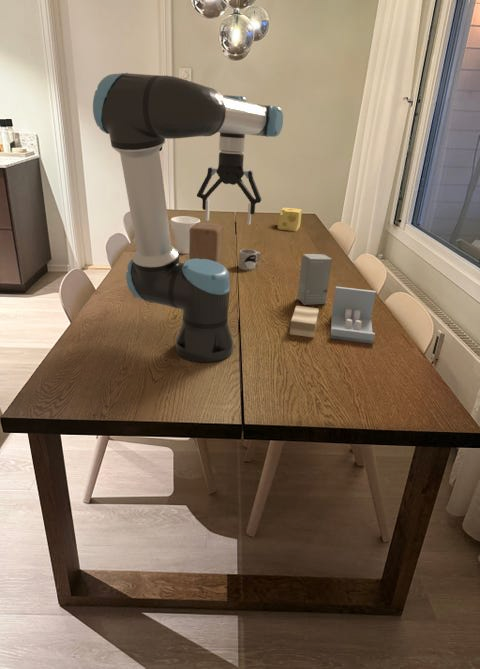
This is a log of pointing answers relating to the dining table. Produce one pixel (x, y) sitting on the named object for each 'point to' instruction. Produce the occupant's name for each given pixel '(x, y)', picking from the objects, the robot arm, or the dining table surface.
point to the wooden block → (206, 242)
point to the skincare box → (314, 279)
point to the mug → (248, 259)
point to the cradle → (352, 315)
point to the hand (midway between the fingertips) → (227, 222)
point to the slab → (304, 321)
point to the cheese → (290, 219)
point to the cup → (182, 232)
